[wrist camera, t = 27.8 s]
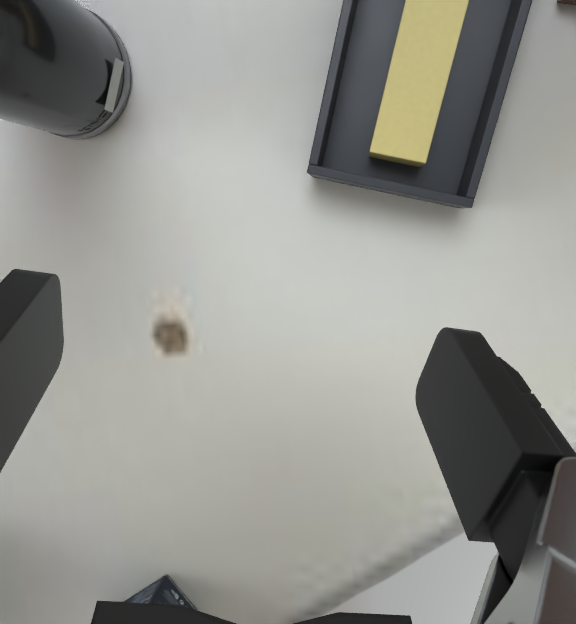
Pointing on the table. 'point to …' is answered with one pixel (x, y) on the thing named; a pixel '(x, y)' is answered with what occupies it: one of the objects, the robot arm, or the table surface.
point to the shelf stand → (567, 1)
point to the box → (162, 594)
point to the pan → (453, 113)
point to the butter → (417, 80)
